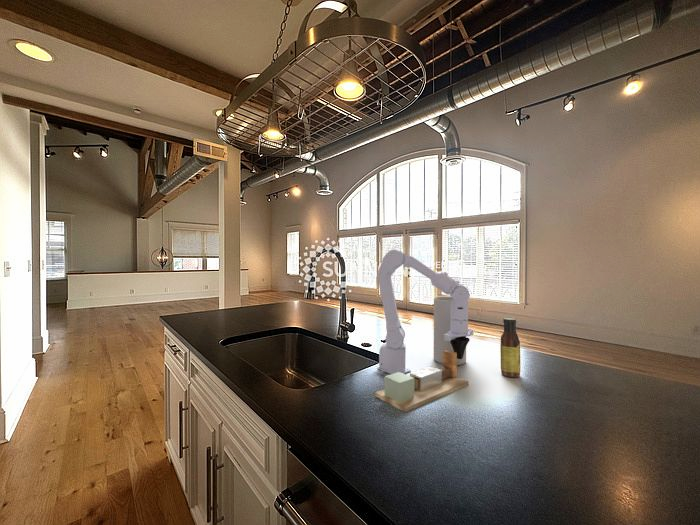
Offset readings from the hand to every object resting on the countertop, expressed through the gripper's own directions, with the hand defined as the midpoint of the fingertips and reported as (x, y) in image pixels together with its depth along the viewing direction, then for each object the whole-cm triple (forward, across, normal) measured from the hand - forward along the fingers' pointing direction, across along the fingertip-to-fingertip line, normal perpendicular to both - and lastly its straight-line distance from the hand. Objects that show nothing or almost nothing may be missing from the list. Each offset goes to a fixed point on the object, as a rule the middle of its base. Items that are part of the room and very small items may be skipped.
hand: (458, 358), depth 107 cm
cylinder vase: (+7, +12, +12) cm, 18 cm away
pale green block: (+5, -30, 0) cm, 30 cm away
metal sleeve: (+5, -18, 0) cm, 19 cm away
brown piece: (+5, -14, 0) cm, 15 cm away
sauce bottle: (+7, +16, -10) cm, 20 cm away
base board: (+6, -19, 0) cm, 20 cm away
